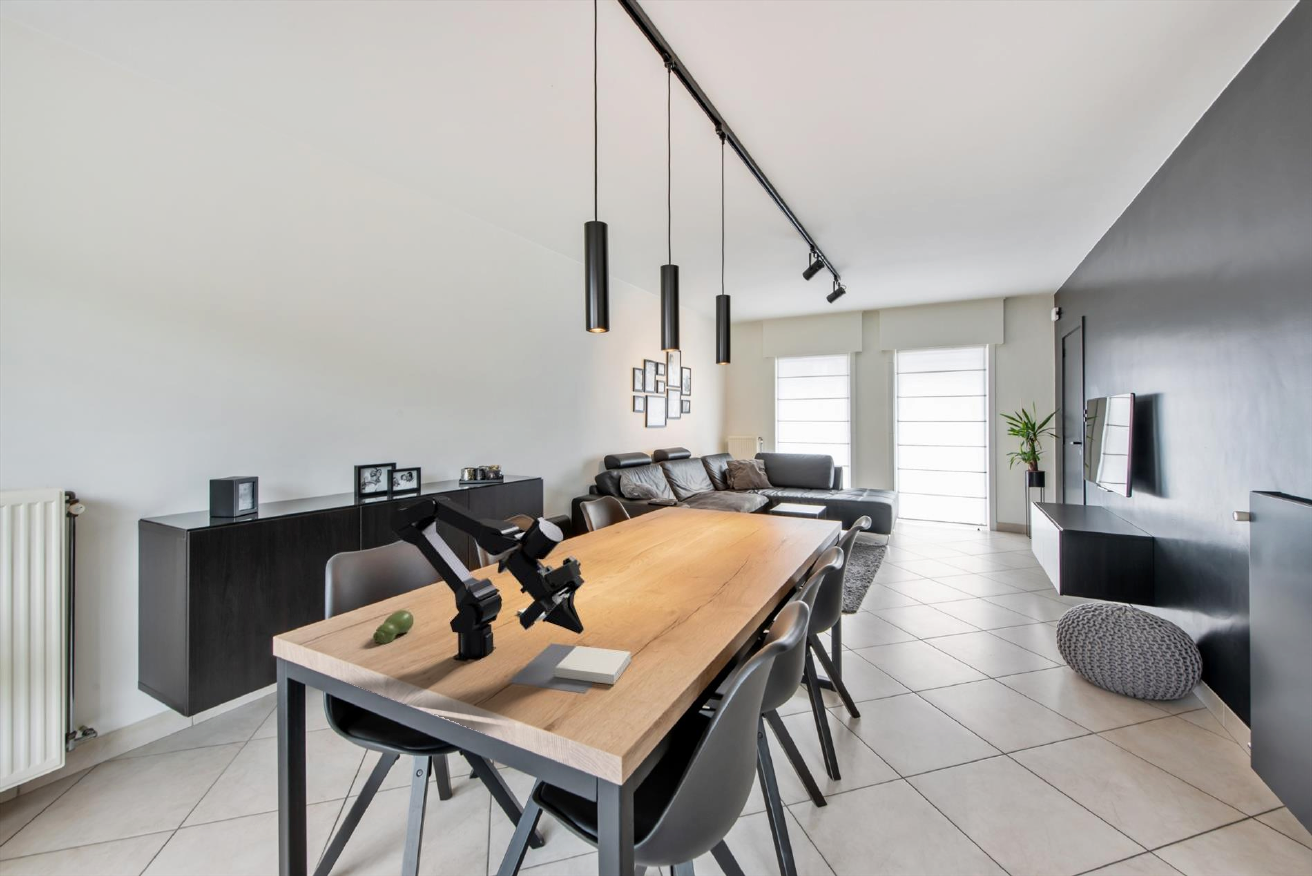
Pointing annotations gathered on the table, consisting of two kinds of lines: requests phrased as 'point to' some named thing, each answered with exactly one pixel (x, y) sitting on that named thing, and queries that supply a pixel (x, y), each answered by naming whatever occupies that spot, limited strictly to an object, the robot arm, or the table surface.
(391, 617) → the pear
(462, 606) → the robot arm
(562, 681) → the mat
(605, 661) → the tile
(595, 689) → the table surface
